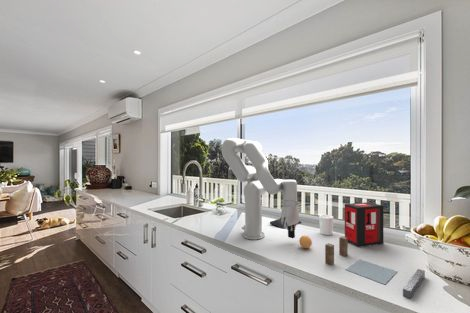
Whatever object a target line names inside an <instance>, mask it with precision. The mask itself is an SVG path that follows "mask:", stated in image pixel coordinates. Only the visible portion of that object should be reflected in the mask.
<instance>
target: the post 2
mask: <svg viewBox="0 0 470 313" xmlns="http://www.w3.org/2000/svg"><path fill="white" fill-rule="evenodd" d="M338 240H339V241H338V242H339V245H338V246H339V247H338V248H339V255H340V256H341V257H347V256H348V255H349V254H348V253H349V252H348V248H349V246H348V244H349V243H348V238H347V237H345V236H340V237H339V238H338Z"/></svg>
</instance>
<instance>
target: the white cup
mask: <svg viewBox="0 0 470 313" xmlns="http://www.w3.org/2000/svg"><path fill="white" fill-rule="evenodd" d="M318 217H319V220H318V221H319V222H318V223H319V232H320V234H322V235H325V236H332V235H333V230H334V216H333V215H329V214H319V216H318Z"/></svg>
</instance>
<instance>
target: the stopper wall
mask: <svg viewBox="0 0 470 313" xmlns="http://www.w3.org/2000/svg"><path fill="white" fill-rule="evenodd" d="M425 272H426V271H425V270H423V269H421V268H417V270H416V271H415V272H414V273H413V275H412V276H411V277H410V279H409V280H408V281H407V283H406V284H405V285H404V286H403V288H402V297H405V298H407V299H409V300H411V299H412V298H413V296H414V294H415V293H416V292H417V290H418V288H419V287H420V285H421V283H422V282H423V281H424V280H425V277H426V273H425Z"/></svg>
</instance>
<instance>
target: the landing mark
mask: <svg viewBox="0 0 470 313" xmlns="http://www.w3.org/2000/svg"><path fill="white" fill-rule="evenodd" d="M345 271H348V272H350V273H353V274H355V275H358V276H361V277H363V278H366V279H369V280H371V281H374V282H376V283H380V284H382V285H387V284H388V283H389V281H390V280H392V279H393V277H394V276H395V275H396V274H398V271H397V270H395V269H391V268H389V267H385V266H382V265H378V264H375V263H373V262H370V261H367V260H364V259H361V258H360V259H358V260H357V261H355V262H354V263H353V264H351V265H349V266H348V267H347V268H346V269H345Z"/></svg>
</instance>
